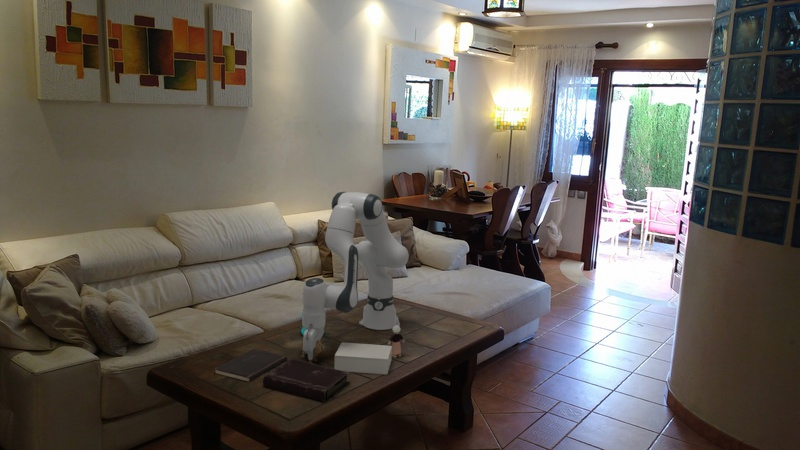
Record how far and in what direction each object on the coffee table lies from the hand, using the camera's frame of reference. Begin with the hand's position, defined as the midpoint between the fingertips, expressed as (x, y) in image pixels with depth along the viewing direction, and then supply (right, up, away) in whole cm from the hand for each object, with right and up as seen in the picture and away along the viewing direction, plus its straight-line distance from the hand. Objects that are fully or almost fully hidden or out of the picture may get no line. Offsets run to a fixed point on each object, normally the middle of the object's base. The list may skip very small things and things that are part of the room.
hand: (313, 354), depth 242 cm
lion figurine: (-1, -2, +2) cm, 3 cm away
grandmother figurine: (+32, -2, +9) cm, 33 cm away
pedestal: (+20, -4, -2) cm, 20 cm away
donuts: (-4, +3, +30) cm, 30 cm away
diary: (+1, -7, -21) cm, 22 cm away
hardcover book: (-22, -4, -7) cm, 24 cm away
